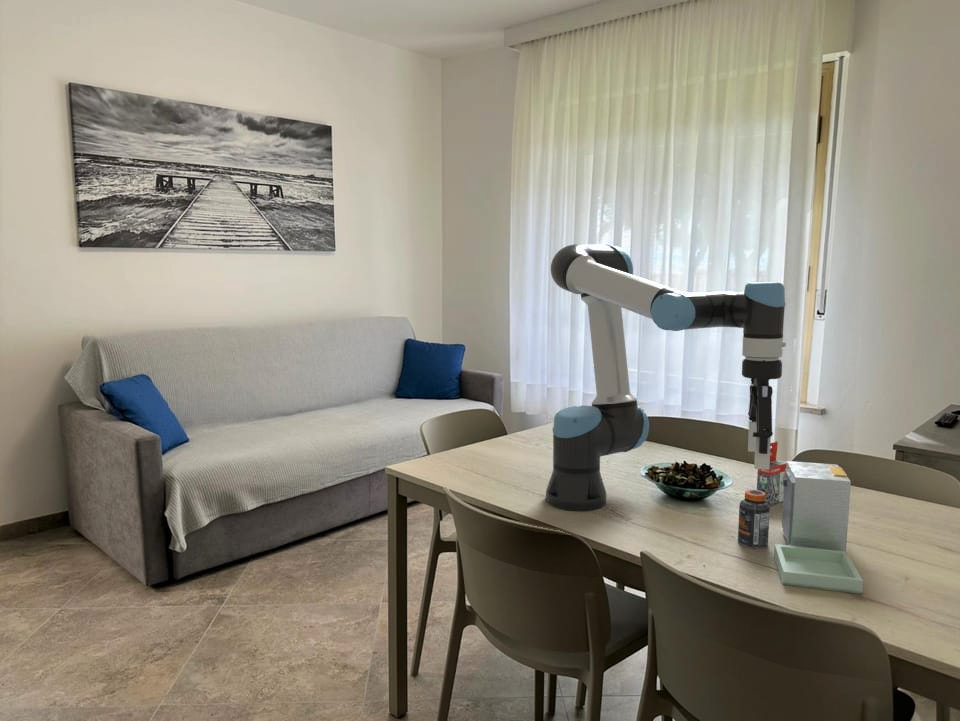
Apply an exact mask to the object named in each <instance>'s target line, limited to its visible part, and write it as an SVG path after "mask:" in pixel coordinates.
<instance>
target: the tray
mask: <svg viewBox="0 0 960 721" xmlns="http://www.w3.org/2000/svg"><path fill="white" fill-rule="evenodd" d="M773 547H774V548H773V557H774V560H775V563H776V567H777V571H778V573H779V576H780V579H781V582H782V585H783V586H792V587H798V588H807V589H815V590H826V591H832V592H833V591H834V592H839V593H841V592H842V593H849V594H856V595H857V594H858V595H863V592H864V591H863V590H864V579H863V577H862V576H861V575H860V574H861V573H860V572H859V571H858V569H857V568H856V566H855V564H854V562H853V561H852V558H851V557H850V555H849V554H848V552H847V551H846V552H845V551H836V550H826V549H817V548H807V547H797V546H788V544H787V545H786V544H776V543H775V544H774V546H773Z"/></svg>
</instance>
